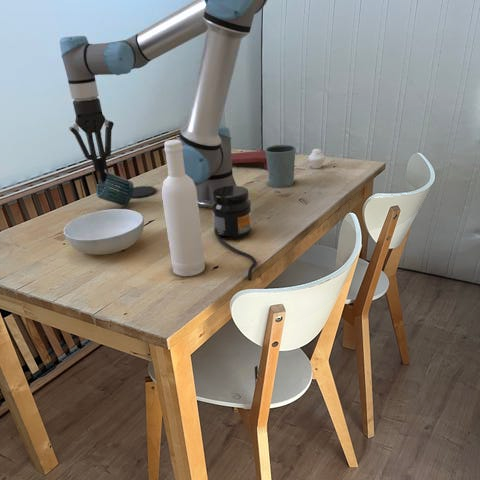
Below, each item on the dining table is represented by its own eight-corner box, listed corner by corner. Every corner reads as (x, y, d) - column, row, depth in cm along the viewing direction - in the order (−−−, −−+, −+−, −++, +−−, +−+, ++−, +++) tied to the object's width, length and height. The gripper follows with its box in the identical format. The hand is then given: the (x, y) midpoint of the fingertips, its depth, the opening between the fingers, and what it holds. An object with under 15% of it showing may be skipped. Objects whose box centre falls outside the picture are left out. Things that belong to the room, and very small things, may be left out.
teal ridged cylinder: (119, 204, 162) (126, 179, 160) (128, 208, 155) (136, 182, 154) (93, 195, 156) (100, 170, 155) (101, 199, 150) (109, 172, 148)
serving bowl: (82, 233, 141) (77, 210, 137) (153, 230, 140) (150, 207, 136) (58, 265, 124) (51, 240, 120) (139, 262, 123) (134, 237, 119)
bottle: (173, 263, 121) (155, 138, 105) (204, 260, 121) (191, 135, 105) (172, 278, 114) (152, 147, 98) (205, 275, 115) (191, 144, 98)
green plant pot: (301, 183, 168) (301, 148, 161) (278, 190, 163) (277, 153, 157) (283, 177, 175) (282, 142, 168) (260, 183, 171) (259, 148, 164)
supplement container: (260, 232, 135) (258, 189, 128) (233, 244, 129) (230, 200, 122) (233, 223, 141) (230, 182, 134) (206, 234, 135) (202, 192, 128)
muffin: (306, 165, 185) (307, 147, 182) (322, 164, 186) (323, 145, 182) (310, 170, 180) (310, 151, 176) (326, 169, 181) (327, 149, 177)
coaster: (160, 193, 167) (159, 192, 167) (130, 200, 163) (129, 198, 163) (149, 185, 175) (149, 184, 175) (120, 191, 171) (120, 190, 171)
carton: (212, 173, 195) (266, 170, 182) (210, 161, 193) (264, 157, 180) (228, 165, 204) (281, 161, 191) (226, 153, 202) (279, 149, 189)
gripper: (104, 94, 144) (120, 173, 157) (59, 100, 139) (79, 181, 152) (111, 96, 138) (127, 179, 151) (65, 103, 133) (85, 187, 146)
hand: (103, 180), depth 151 cm, fingers closed
